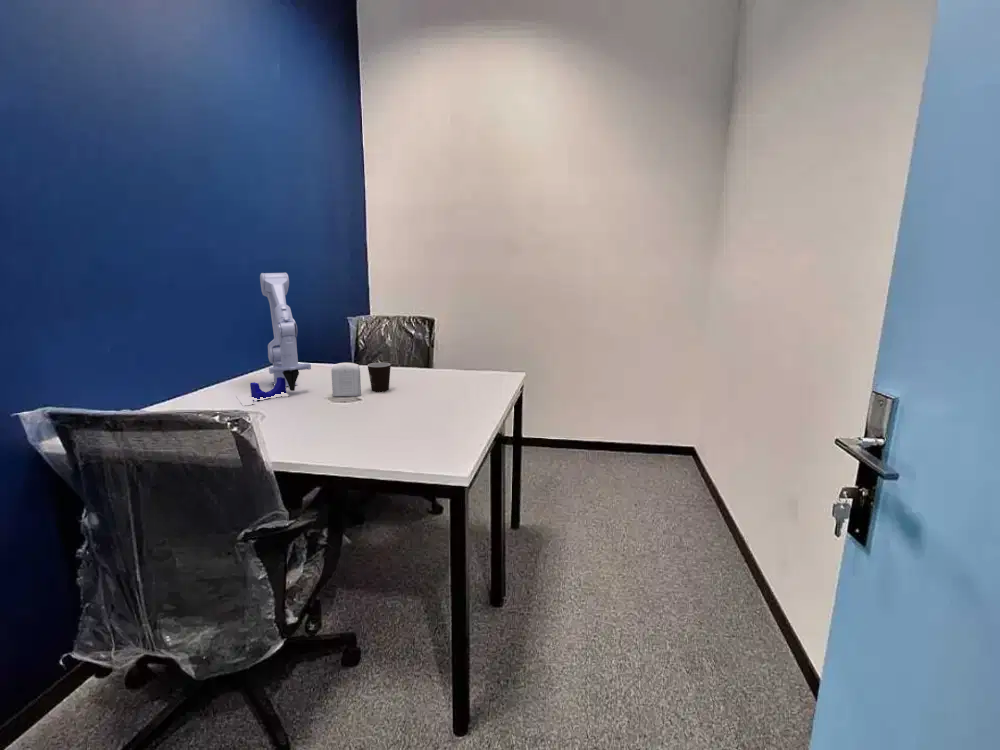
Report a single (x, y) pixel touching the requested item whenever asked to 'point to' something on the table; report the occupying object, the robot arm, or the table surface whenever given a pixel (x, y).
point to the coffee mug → (379, 376)
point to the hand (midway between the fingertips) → (292, 390)
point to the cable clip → (277, 389)
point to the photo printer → (346, 379)
